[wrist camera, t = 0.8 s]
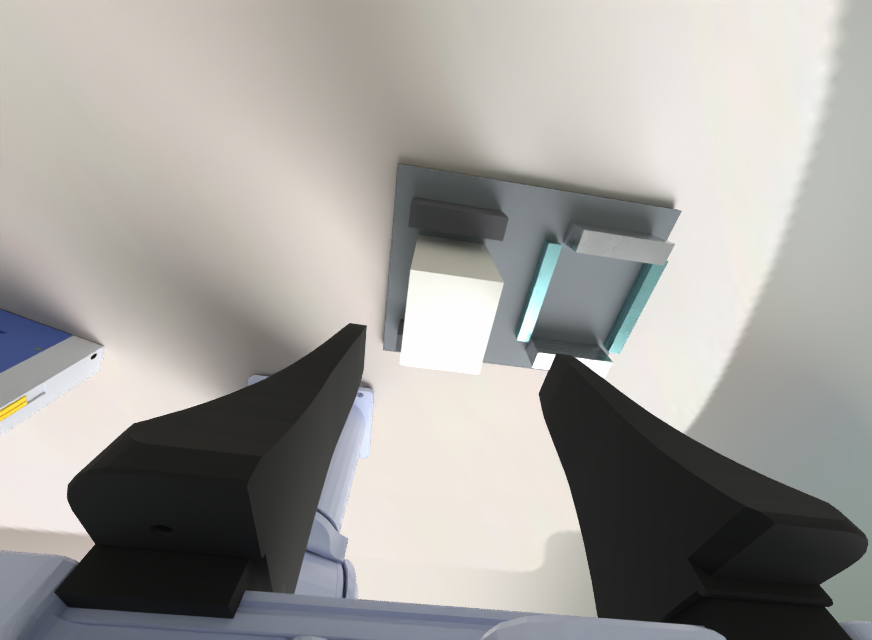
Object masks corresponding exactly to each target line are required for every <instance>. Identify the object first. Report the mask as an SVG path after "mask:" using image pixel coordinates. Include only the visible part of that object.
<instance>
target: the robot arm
mask: <svg viewBox="0 0 872 640" xmlns="http://www.w3.org/2000/svg"><path fill="white" fill-rule="evenodd" d="M366 327H367V326H366V325H359V324H352V323H349V324H348V325H347V326H345V327H344V328H343V329H341V330H340V331H339V332H338V333H336V334H335V335H334V336H332V337H331V338H330V339H329V340H327V341H326V342H325V343H323V344H322V345H320V346H319V347H318V348H316V349H315V350H314V351H312V352H311V353H309V354H308V355H306V356H305V357H303V358H301V359H300V360H298V361H297V362H295V363H294V364H292V365H290V366H288V367H287V368H285V369H283V370H281V371H279V372H277V373H275V374H273V375H272V376H270V377H269V376H260V375H252V376H251V377H250V378H249V379H248V386H247V387H245V388H243V389H240V390H238V391H236V392H233V393H231V394H228V395H226V396H223V397H220V398H217V399H215V400H212V401H209V402H206V403H203V404H200V405H197V406H194V407H191V408H188V409H184V410H181V411H177V412H174V413H170V414H167V415H163V416H160V417H156V418H153V419H149V420H145V421H142V422H138V423H134V424H133V425H131V426H130V427H129V428H128V429H127V430H126V431H124V432H123V433H122V434H121V435H120V436H119V437H118V438H117V439H115V440H114V441H113V442H112V443H111V444H110V445H109V446H108V447H107V448H106V449H104V450H103V451H102V452H101V453H100V454H99V455H98V456H97V457H96V458H95V459H93V460H92V461H91V462H90V463H89V464H88V465H87V466H86V467H85V468H84V469H82V470H81V471H80V472H79V473H78V474H77V475H76V476H75V477H74V478H73V479H72V481H71V482H70V483H69V484H68V490H67V500H68V502H69V504H70V507H71V509H72V511H73V512H74V514H75V515H76V517H77V518H78V519H79V521H80V522H81V524H82V525H83V527H84V528H85V530H86V531H87V533H88V534H89V535H90V537H91V538H92V540H93V541H94V542H95V545H94V546H93V548H92V549H91V550H90V551H89V552H88V553H87V555H86V556H85V557H84V558H83V559H82V560H81V562H80V563H79V562H77V561H76V560H73V559H71V558H68V557H65V556H59V555H50V554H39V553H27V552H15V551H3V550H2V551H0V640H872V622H865V621H847V622H842V623H838V622H837V621H836V620H835V619H834V617H833V616H832V615H831V614H830V613H829V611H828V610H827V609H826V608H825V607H830V606H832V605H833V601H832V599H831V598H830V597H829V596H828V594H827V593H826V592H825V591H824V590H823V589H822V588H821V587H820V584H821V583H823V582H825V581H826V580H828V579H829V578H831V577H833V576H835V575H836V574H838V573H840V572H841V571H843V570H845V569H846V568H848V567H850V566H851V565H852V564H854V563H855V562H856V561H858V560H859V559H860V558H861V557H862V556H863V555H864V554H865V552H866V550H867V546H868V540H867V538H866V535H865V534H864V533H863V532H862V531H861V530H860V529H859V528H858V527H857V526H855V525H854V524H853V523H852V522H851V521H850V520H849V519H848V518H847V517H845V516H844V515H843V514H842V513H841V512H840V511H839V510H837V509H836V508H835V507H833V506H832V505H830V504H829V503H827V502H825V501H822V500H820V499H818V498H815V497H813V496H810V495H808V494H806V493H803V492H801V491H799V490H796V489H794V488H791V487H789V486H787V485H784V484H782V483H780V482H778V481H775V480H773V479H771V478H768V477H766V476H764V475H762V474H760V473H758V472H756V471H754V470H751V469H749V468H747V467H745V466H743V465H741V464H739V463H737V462H735V461H733V460H731V459H729V458H727V457H725V456H723V455H721V454H719V453H717V452H715V451H714V450H712V449H710V448H708V447H706V446H704V445H702V444H701V443H699V442H697V441H695V440H693V439H691V438H690V437H688V436H686V435H685V434H683V433H681V432H680V431H678V430H676V429H675V428H673V427H672V426H670V425H668V424H667V423H665V422H663V421H662V420H660V419H659V418H657V417H656V416H654V415H653V414H651V413H650V412H648V411H647V410H645V409H644V408H642V407H641V406H640V405H638V404H637V403H635V402H634V401H633V400H631V399H630V398H628V397H627V396H626V395H624V394H623V393H622V392H620V391H619V390H618V389H616V388H615V387H614V386H612V385H611V384H610V383H609V382H607V381H606V380H605V379H603V378H602V377H601V376H599V375H598V374H597V373H596V372H594V371H593V370H592V369H590V368H589V367H588V366H586V365H585V364H584V363H582V362H581V361H580V360H578V359H577V358H575V357H573V356H572V355H566V354H559V353H556V355H555V357H554V359H553V362H552V364H551V366H550V369H549V371H548V373H547V376H546V378H545V380H544V383H543V385H542V387H541V390H540V392H539V397H540V402H541V407H542V411H543V415H544V419H545V422H546V424H547V427H548V430H549V432H550V435H551V438H552V440H553V443H554V446H555V448H556V451H557V453H558V456H559V458H560V461H561V464H562V466H563V469H564V471H565V474H566V477H567V480H568V483H569V486H570V490H571V494H572V497H573V501H574V505H575V508H576V512H577V516H578V520H579V525H580V529H581V533H582V537H583V541H584V546H585V550H586V556H587V561H588V565H589V570H590V575H591V580H592V586H593V592H594V597H595V603H596V609H597V615H598V618H595V617H582V616H569V615H556V614H541V613H530V612H517V611H503V610H491V609H479V608H466V607H453V606H439V605H427V604H414V603H401V602H388V601H375V600H362V599H358V588H357V582H356V573H355V569H354V566H353V564H352V563H351V562H350V561H349V560H347V559H344V556H345V552H346V547H347V543H348V538H347V537H344V536H342V535H341V534H339V532H340V528H341V525H342V521H343V517H344V513H345V509H346V505H347V501H348V497H349V493H350V489H351V485H352V481H353V477H354V473H355V469H356V466H357V462H358V458H367V457H368V456H369V453H370V439H371V425H372V410H373V395H374V393H373V391H372V390H371V389H370V388H364V387H359V386H360V382H361V378H362V374H363V370H364V356H365V342H366ZM359 392H360V393H362V394H359Z"/></svg>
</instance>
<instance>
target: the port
mask: <svg viewBox="0 0 872 640" xmlns="http://www.w3.org/2000/svg"><path fill="white" fill-rule="evenodd" d="M563 243H564V244H565V245H567V246H568V247H569V248H571V249H572V250H573V251H575V252H577V253H584V254H590V255H597V256H603V257H610V258H617V259H623V260H630V261H636V262H643V265H642V267H641V269H640V271H639V273H638V275H637V277H636V279H635V281H634V283H633V285H632V287H631V289H630V291H629V293H628V296H627V298H626V300H625V302H624V304H623V306H622V308H621V310H620V312H619V314H618V316H617V318H616V320H615V322H614V324H613V326H612V328H611V330H610V332H609V334H608V336H607V338H606V340H605V342H604V344H603V346H604V348H605V349H606V350H607V351H608V352H610V353H618V354H620V352H621V350H622V348H623V346H624V344H625V342H626V340H627V339H628V337H629V335H630V333H631V331H632V329H633V327H634V325H635V323H636V322H637V320H638V318H639V316H640V314H641V312H642V310H643V308H644V306H645V305H646V303H647V301H648V299H649V297H650V295H651V293H652V291H653V289H654V288H655V286H656V284H657V282H658V280H659V278H660V276H661V274H662V272H663V270H664V269H665V267H666V265H667V263H668V261H666V260H667V258H668V256H669V254H670V253H671V251H672V249H673V247H674V245H675V244H674V243H671V242H669V241H666V240H664V239H661V238H659V237H656V236H654V235H651V234H644V233H638V232H632V231H625V230H619V229H613V228H606V227H600V226H594V225H587V224H581V223H575V222H570V223H569V225H568V228H567V231H566V234H565V237H564V240H563ZM561 248H562V245H561V244H560V243H559V242H557V241H551V240H544V243H543V246H542V249H541V253H540V256H539V259H538V262H537V265H536V268H535V271H534V275H533V278H532V281H531V284H530V287H529V290H528V293H527V297H526V300H525V303H524V306H523V309H522V312H521V315H520V319H519V322H518V325H517V328H516V331H515V336H516V339H517V340H518V341H526V342H528V343H527V346H526V349H525V351H526V354H527V356H528V358H529V361H530V363H531V365H532V368H539V369H547V370H549V369H550V366H551V364H552V362H553V359H554V357H555V355H556V353H559V354H566V355H572V356H573V357H575V358H577V359H578V360H580V361H581V362H582V363H584V364H585V365H586V366H588V367H589V368H590V369H592V370H593V371H594V372H596V373H597V374H598V375H599V376H603V377H605V376H606V374H607V373H608V371H609V369H610V367H611V365H612V363H613V362H612V361H611V359H610V358H609V357H608V356H607V355H606V353H605V352H604V351H603V350H602V348H601V347H600V346H599V345H594V344H586V343H578V342H571V341H563V340H555V339H548V338H540V337H533V336H531V334H532V331H533V328H534V326H535V323H536V320H537V317H538V314H539V311H540V308H541V305H542V303H543V300H544V297H545V294H546V291H547V288H548V285H549V283H550V280H551V277H552V274H553V271H554V268H555V265H556V263H557V260H558V257H559V254H560V251H561Z"/></svg>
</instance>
